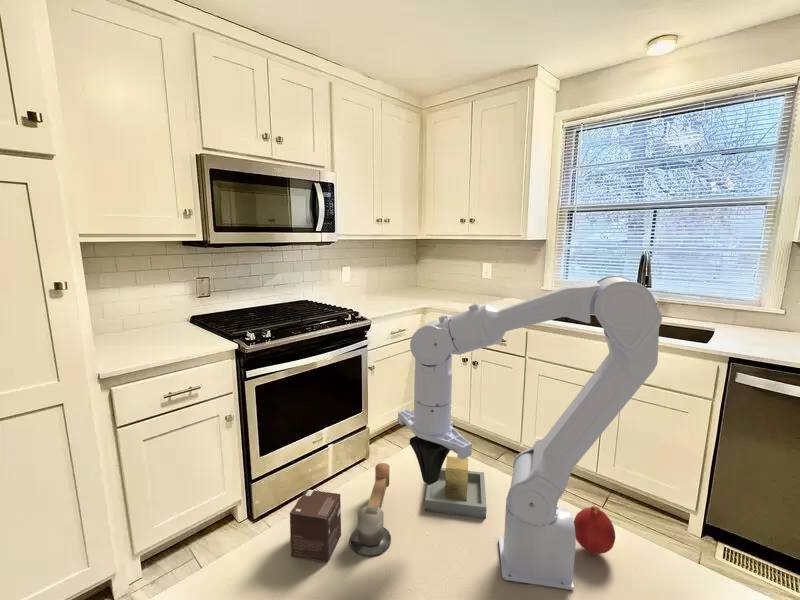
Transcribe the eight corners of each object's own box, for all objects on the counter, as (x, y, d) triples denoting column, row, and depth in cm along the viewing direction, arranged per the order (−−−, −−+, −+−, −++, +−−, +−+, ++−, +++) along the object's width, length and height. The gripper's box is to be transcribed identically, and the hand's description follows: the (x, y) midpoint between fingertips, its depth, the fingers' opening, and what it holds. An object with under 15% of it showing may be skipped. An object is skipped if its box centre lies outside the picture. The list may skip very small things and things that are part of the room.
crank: (381, 547, 60) (381, 515, 59) (355, 544, 61) (355, 513, 60) (393, 489, 74) (394, 463, 73) (372, 487, 75) (373, 462, 74)
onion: (576, 533, 65) (579, 488, 63) (615, 549, 61) (620, 502, 60) (567, 555, 60) (571, 507, 59) (609, 574, 57) (614, 524, 55)
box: (327, 564, 58) (327, 519, 57) (289, 557, 59) (288, 513, 58) (341, 535, 64) (341, 493, 63) (307, 529, 65) (306, 488, 64)
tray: (483, 481, 78) (483, 472, 78) (486, 517, 68) (486, 507, 68) (430, 475, 80) (430, 466, 80) (424, 510, 70) (425, 500, 69)
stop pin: (467, 487, 75) (468, 458, 75) (466, 500, 72) (468, 470, 71) (446, 485, 76) (447, 456, 75) (444, 498, 72) (445, 467, 71)
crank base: (394, 529, 65) (394, 526, 65) (386, 559, 59) (386, 556, 59) (356, 524, 66) (356, 521, 66) (345, 553, 60) (345, 550, 60)
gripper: (486, 408, 57) (482, 493, 59) (420, 380, 69) (418, 453, 71) (453, 421, 53) (450, 513, 55) (388, 390, 64) (387, 467, 66)
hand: (430, 481), depth 62 cm, fingers closed
